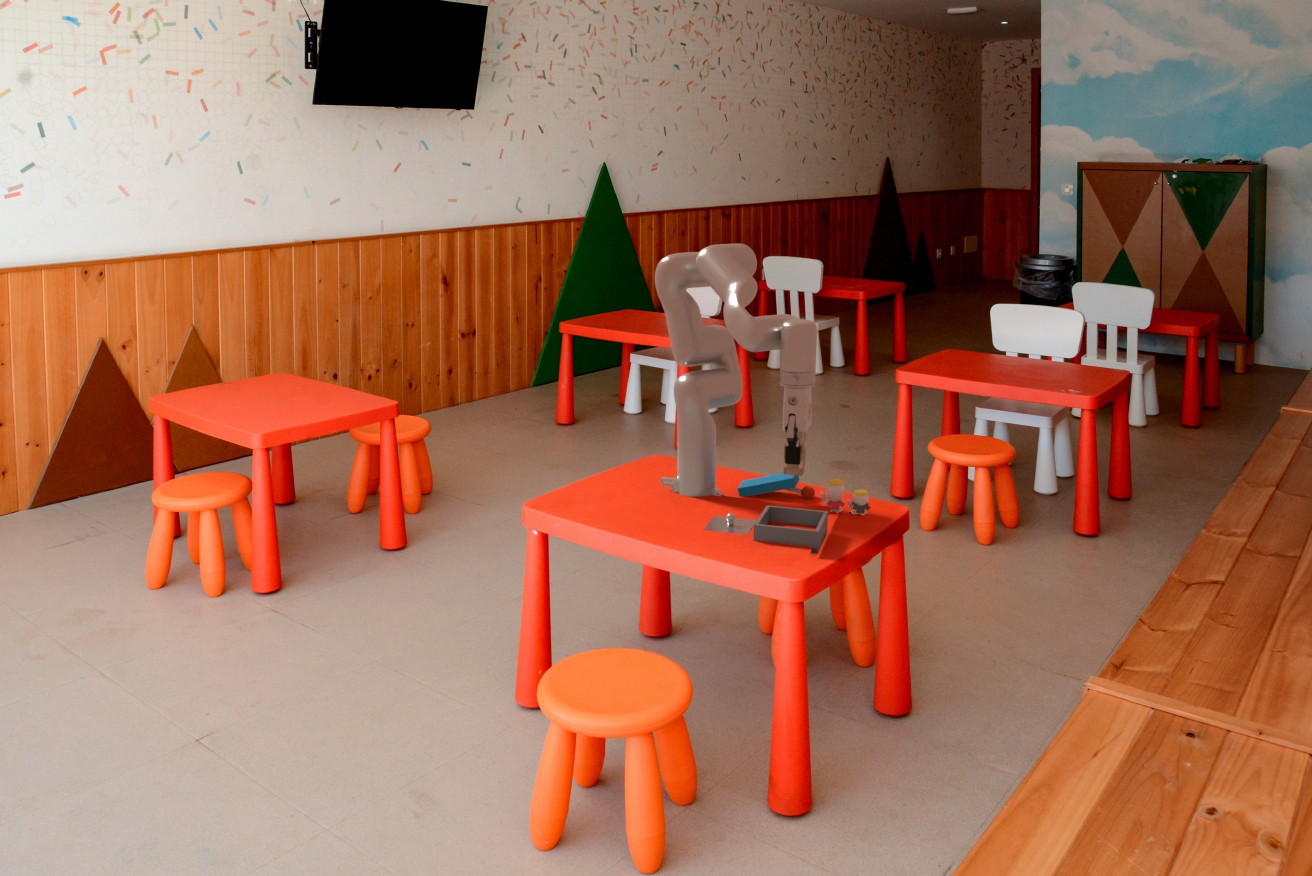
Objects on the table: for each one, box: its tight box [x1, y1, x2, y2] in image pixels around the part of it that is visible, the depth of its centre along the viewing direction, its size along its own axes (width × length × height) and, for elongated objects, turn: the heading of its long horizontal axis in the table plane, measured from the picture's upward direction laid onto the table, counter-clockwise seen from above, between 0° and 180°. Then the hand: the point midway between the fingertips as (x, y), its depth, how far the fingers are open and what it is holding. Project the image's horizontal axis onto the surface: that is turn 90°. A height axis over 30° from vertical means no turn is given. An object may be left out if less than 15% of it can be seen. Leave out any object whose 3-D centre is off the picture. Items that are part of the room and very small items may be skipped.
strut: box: [783, 429, 807, 477], centre depth 229 cm, size 4×4×10 cm
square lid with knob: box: [703, 512, 757, 536], centre depth 239 cm, size 10×10×4 cm
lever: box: [737, 472, 816, 500], centre depth 265 cm, size 7×7×18 cm
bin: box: [752, 504, 829, 555], centre depth 234 cm, size 14×14×5 cm
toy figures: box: [819, 478, 871, 515], centre depth 251 cm, size 12×4×8 cm, turn 76°
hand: (794, 460), depth 230 cm, fingers closed on strut, 4 cm apart
